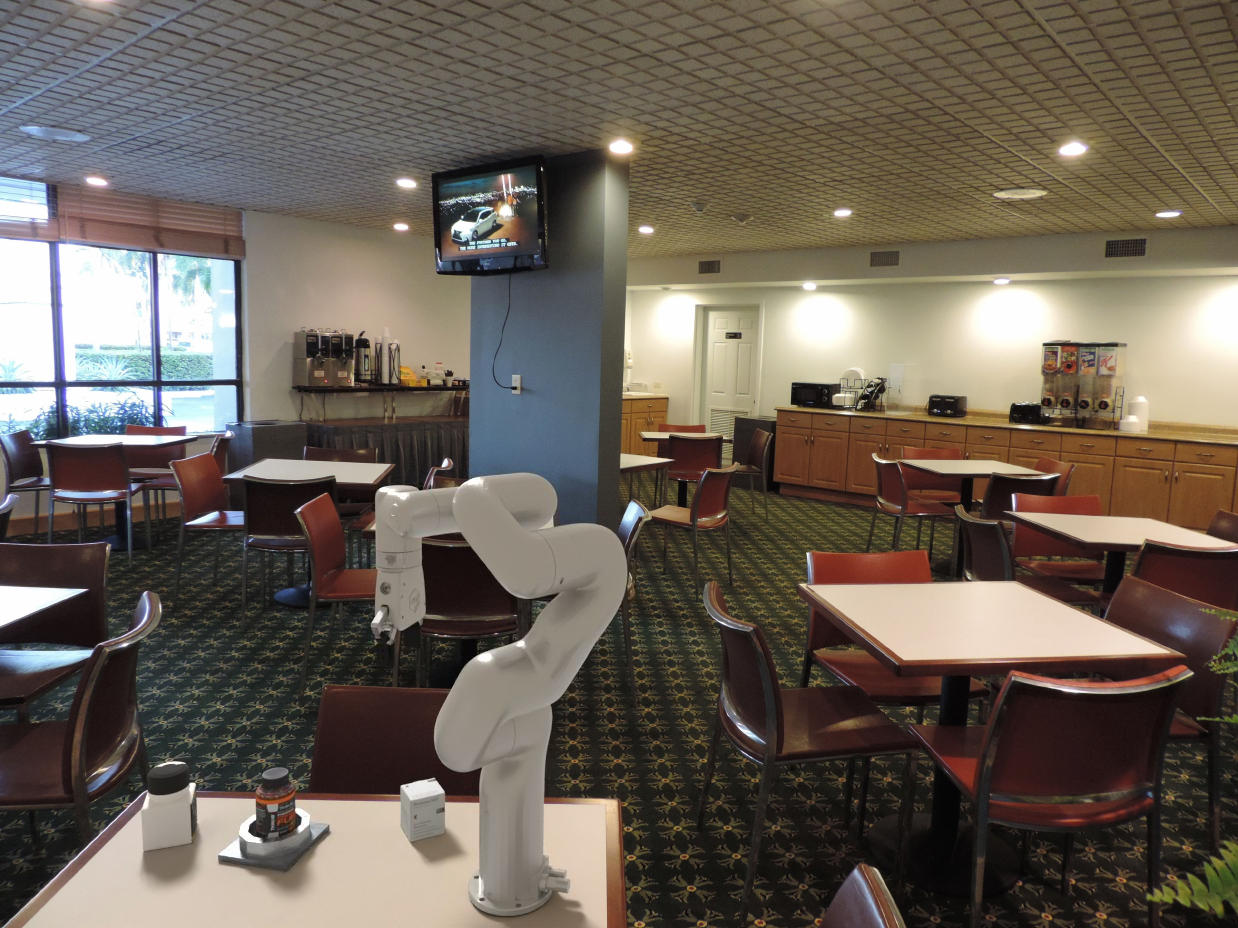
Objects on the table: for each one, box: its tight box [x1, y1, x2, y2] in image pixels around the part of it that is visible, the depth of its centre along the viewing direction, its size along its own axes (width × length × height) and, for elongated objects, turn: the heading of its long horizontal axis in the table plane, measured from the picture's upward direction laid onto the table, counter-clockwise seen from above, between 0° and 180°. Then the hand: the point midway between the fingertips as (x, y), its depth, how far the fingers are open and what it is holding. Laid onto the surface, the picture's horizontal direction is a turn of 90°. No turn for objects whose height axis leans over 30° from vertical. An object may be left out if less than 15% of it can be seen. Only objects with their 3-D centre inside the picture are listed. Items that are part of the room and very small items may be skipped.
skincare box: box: [399, 777, 446, 843], centre depth 138 cm, size 6×6×7 cm
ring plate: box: [217, 807, 331, 873], centre depth 133 cm, size 12×12×4 cm
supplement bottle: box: [255, 767, 296, 839], centre depth 132 cm, size 6×6×11 cm
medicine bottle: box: [140, 761, 198, 852], centre depth 134 cm, size 7×7×12 cm
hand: (399, 656), depth 140 cm, fingers open, 9 cm apart
